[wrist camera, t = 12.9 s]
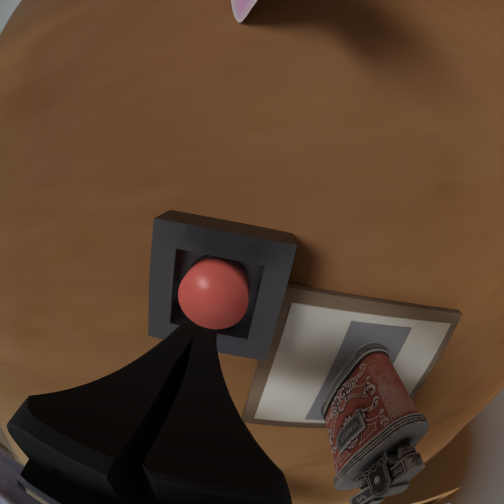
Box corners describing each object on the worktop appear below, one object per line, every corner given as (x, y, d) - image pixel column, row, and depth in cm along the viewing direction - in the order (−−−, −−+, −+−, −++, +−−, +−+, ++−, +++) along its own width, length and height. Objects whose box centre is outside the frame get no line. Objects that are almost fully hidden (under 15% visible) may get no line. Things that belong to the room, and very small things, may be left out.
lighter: (357, 339, 16) (412, 465, 7) (395, 345, 17) (458, 452, 7) (311, 414, 19) (327, 521, 9) (347, 417, 19) (372, 514, 9)
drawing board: (391, 420, 20) (393, 426, 20) (241, 416, 20) (241, 423, 19) (458, 310, 17) (463, 314, 16) (279, 281, 16) (280, 287, 15)
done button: (243, 319, 16) (241, 334, 14) (183, 307, 16) (175, 321, 14) (255, 262, 15) (254, 274, 13) (189, 249, 14) (181, 259, 13)
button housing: (265, 336, 17) (265, 360, 15) (161, 314, 17) (148, 335, 15) (291, 233, 15) (297, 245, 13) (170, 210, 15) (154, 218, 13)
